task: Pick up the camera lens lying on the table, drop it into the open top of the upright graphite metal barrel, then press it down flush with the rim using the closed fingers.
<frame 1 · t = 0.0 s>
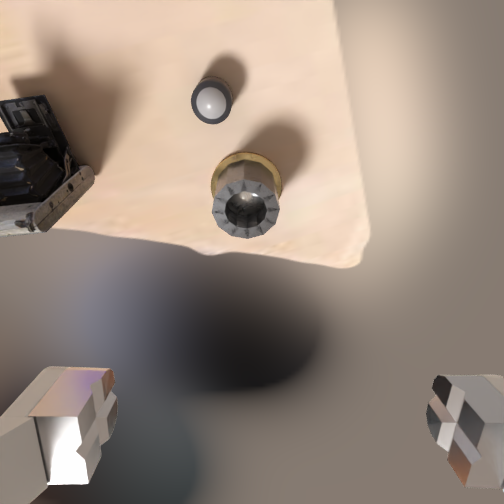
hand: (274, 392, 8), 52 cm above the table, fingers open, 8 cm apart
camera lens: (213, 97, 53), on the table
lens barrel: (246, 186, 62), on the table
vintage camera: (53, 141, 57), on the table
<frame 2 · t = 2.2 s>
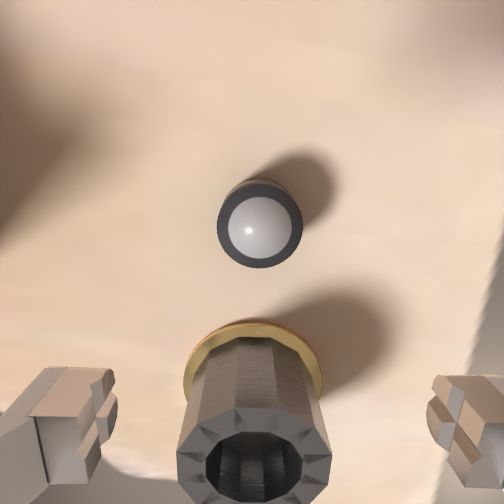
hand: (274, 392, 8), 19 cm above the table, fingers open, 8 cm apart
camera lens: (258, 216, 27), on the table
lens barrel: (252, 380, 32), on the table
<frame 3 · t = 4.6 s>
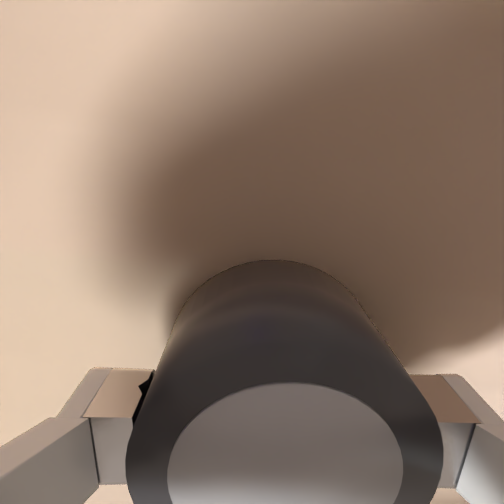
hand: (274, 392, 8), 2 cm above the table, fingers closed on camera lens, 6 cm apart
camera lens: (270, 353, 10), on the table, touching gripper
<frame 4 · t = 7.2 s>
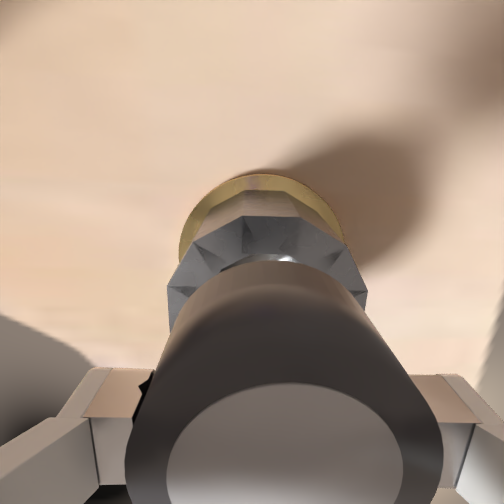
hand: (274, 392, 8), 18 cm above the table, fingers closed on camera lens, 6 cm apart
camera lens: (270, 353, 10), point 17 cm above the table, touching gripper
lens barrel: (261, 255, 27), on the table
when the fingers open (10 cm above the table, at t = 9.7 s): camera lens drops 4 cm, resting on lens barrel.
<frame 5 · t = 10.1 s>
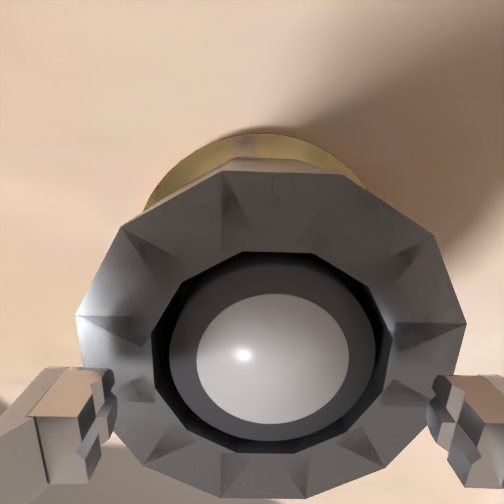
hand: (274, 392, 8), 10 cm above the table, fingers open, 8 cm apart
camera lens: (265, 301, 13), point 5 cm above the table, touching lens barrel
lens barrel: (259, 260, 18), on the table
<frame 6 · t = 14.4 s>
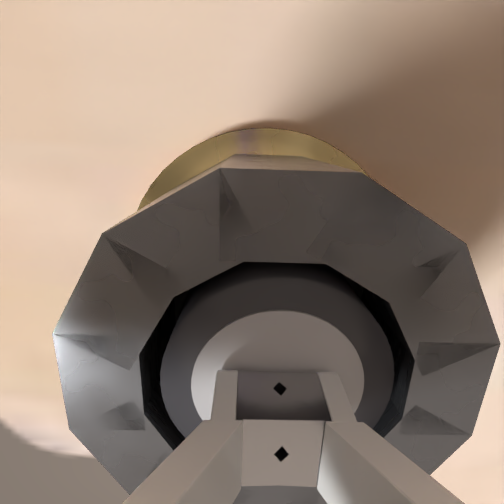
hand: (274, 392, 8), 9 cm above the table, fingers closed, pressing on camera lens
camera lens: (268, 312, 12), point 5 cm above the table, touching gripper, lens barrel
lens barrel: (261, 264, 17), on the table
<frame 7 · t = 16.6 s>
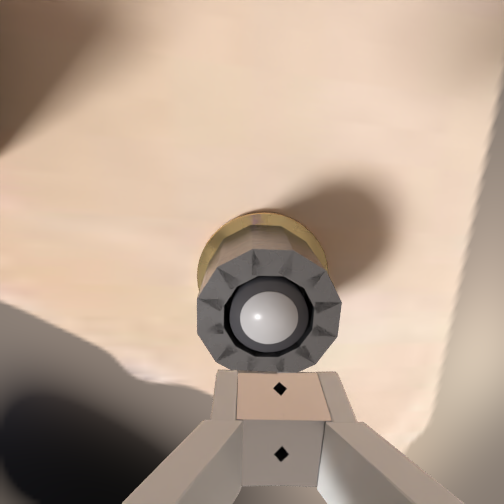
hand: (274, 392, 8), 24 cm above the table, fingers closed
camera lens: (265, 296, 29), point 5 cm above the table, touching lens barrel
lens barrel: (262, 275, 34), on the table
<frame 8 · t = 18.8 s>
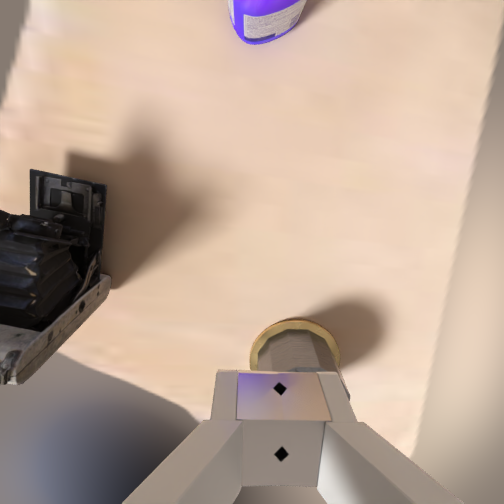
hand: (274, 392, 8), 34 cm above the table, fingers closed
bottle: (264, 15, 35), on the table
lens barrel: (294, 358, 48), on the table
vintage camera: (78, 233, 42), on the table
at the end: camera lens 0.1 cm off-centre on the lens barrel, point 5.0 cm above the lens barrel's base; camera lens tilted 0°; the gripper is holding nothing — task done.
